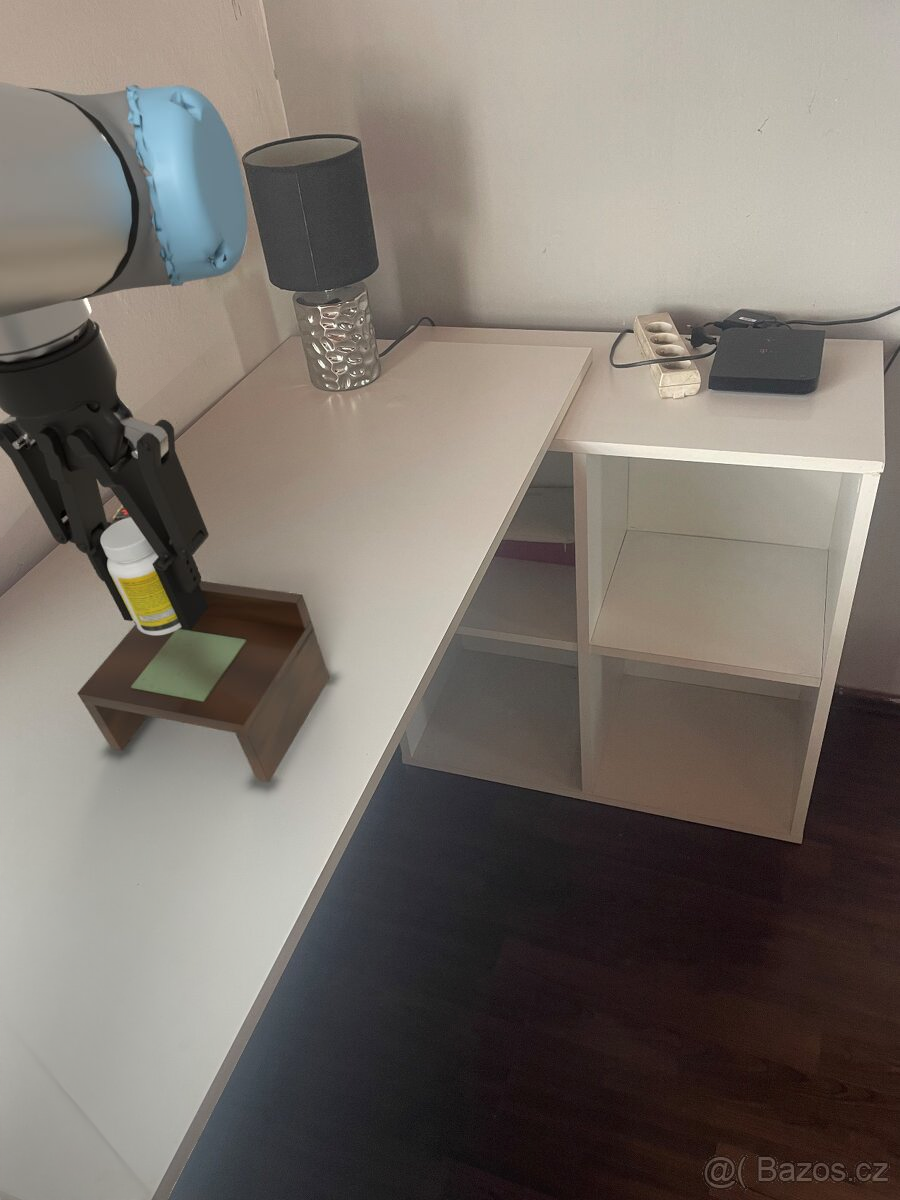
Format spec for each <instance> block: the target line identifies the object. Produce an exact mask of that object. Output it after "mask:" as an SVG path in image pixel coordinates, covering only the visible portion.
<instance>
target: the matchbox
mask: <svg viewBox="0 0 900 1200" xmlns="http://www.w3.org/2000/svg"><path fill="white" fill-rule="evenodd" d="M116 511H117V512H116V513H115V514H114V515H112V522H114V521H115V520H116V518H117V519H120V518H123V519H124V518H129V517H130V515H129V514H128V512H127V511H126V510H125V508H124V507H123V505H122V504H121V505H120V508H116ZM112 522H111V523H112Z"/></svg>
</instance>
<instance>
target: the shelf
mask: <svg viewBox="0 0 900 1200" xmlns="http://www.w3.org/2000/svg"><path fill="white" fill-rule="evenodd" d="M199 585H200V588H201V590H202V592H203V595H204V597H205V599H206V602H207V604H208V606H209V608H208V609H207V610H206V611H205V613H204V614H203V615H202V617H201V618H200V619H199V620H198V622H197V623H196V624H195V626H194V627H193V628H192V629H191V630H185V629H182V627H181V628H179V629H178V630H176V631H174V632H171V633H168V634H165V635H148V634H145V633H143V632H141V631H140V630H139V629H138V628H137V627H136V625H135V624H134V625H133V626H132V628H131V629H130V630H129V631H128V632H127V634H125V636H124V637H123V638H122V640H121V641H120V642H119V643H118V644H117V645H116V647H114V648H113V650H112V651H111V652H110V653H109V655H108V656H107V657H106V658H105V660H104V661H103V662H102V663H101V664H100V665H99V666H98V667H97V669H96V670H95V671H94V673H93V674H92V675H91V676H90V677H89V678H88V680H86V682H85V683H84V684H83V685H82V687H81V688H80V689H79V690H78V691H77V693H76V694H77V695H78V697H79V699H80V700H81V702H82V704H83V705H84V706H85V708H86V710H87V711H88V713H89V714H90V717H91V718H92V719H93V721H94V723H95V724H96V726H97V728H98V729H99V731H100V732H101V734H102V736H103V737H104V739H105V741H106V742H107V744H108V746H109V747H110V748H111V749H114V750H118V751H123V750H124V748H125V747H126V745H127V744H129V742H130V740H131V739H132V738H133V737H134V736H135V734H136V732H137V731H138V730H139V728H140V727H141V726H142V724H143V723H144V722H145V720H146V719H147V718H148V717H154V718H158V719H163V720H167V721H168V720H169V721H173V722H179V723H183V724H188V725H193V726H199V727H203V728H209V729H215V730H218V731H225V732H229V733H232V734H233V733H234V734H235V736H236V738H237V740H238V742H239V744H240V747H241V749H242V751H243V753H244V756H245V757H246V760H247V762H248V764H249V766H250V769H251V771H252V773H253V776H254V777H255V779H256V780H257V781H261V782H265V783H270V781H271V779H272V778H273V776H274V774H275V772H276V771H277V769H278V767H279V765H280V764H281V762H282V761H283V758H284V757H285V755H286V754H287V752H288V750H289V748H290V747H291V745H292V744H293V741H294V740H295V738H296V737H297V735H298V733H299V731H300V729H301V728H302V726H303V724H304V722H305V721H306V720H307V717H308V716H309V714H310V712H311V711H312V709H313V707H314V705H315V704H316V702H317V701H318V698H319V697H320V695H321V693H322V692H323V690H324V689H325V687H326V685H327V683H328V682H329V680H330V673H329V671H328V669H327V666H326V662H325V659H324V656H323V652H322V650H321V646H320V643H319V641H318V638H317V634H316V632H315V628H314V625H313V622H312V619H311V616H310V612H309V609H308V606H307V604H306V601H305V597H304V594H303V593H298V592H289V591H281V590H275V589H266V588H259V587H251V586H245V585H244V586H243V585H237V584H230V583H229V584H228V583H221V582H213V581H207V580H201V582H200V583H199Z"/></svg>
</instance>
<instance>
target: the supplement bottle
mask: <svg viewBox="0 0 900 1200" xmlns="http://www.w3.org/2000/svg"><path fill="white" fill-rule="evenodd" d="M100 542H101V545H102V547H103V549H104V552H105V554H106V556H107V557H108V561H107V567H108V571H109V573H110V575H111V577H112V579H113V581H114V583H115V585H116V587H117V589H118V591H119V593H120V595H121V597H122V599H123V601H124V603H125V605H126V607H127V609H128V611H129V613H130V615H131V617H132V619H133V621H132V622H133V623H134V626H135V625H136V627H137V628H138V629H139V630H140V631H141V632H143V633H145V634H148V635H165V634H168V633H171V632H174V631H176V630H178V629H179V628H181V625H180V622H179V620H178V618H177V616H176V614H175V612H174V610H173V607H172V605H171V603H170V601H169V599H168V597H167V595H166V592H165V590H164V588H163V586H162V584H161V582H160V579H159V577H158V575H157V573H156V571H155V569H154V567H153V563H154V562H155V560H156V559H157V558H158V556H157V554H156V553H155V551H154V550H153V548H152V547H151V546H150V544H149V543H148V541H147V540H146V538H145V537H144V535H143V534H142V533H141V531H140V530H139V528H138V527H137V525H136V524H135V523H134V521H133V520H132V518H131V517H124V518H123V519H121V520H118V521H116V522H114V523H112V524H111V525H110V526H109V527H108V528H107V529H106V530H105V531H104V532H103V534H102V535H101V539H100Z"/></svg>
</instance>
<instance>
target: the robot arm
mask: <svg viewBox="0 0 900 1200" xmlns="http://www.w3.org/2000/svg"><path fill="white" fill-rule="evenodd" d="M224 121H225V120H224V119H223V117H222V116H221V114H220V113H219V111H218V109H216V107H215V106H214V104H213V103H212V102H211V101H210V100H209V98H207V96H205V95H204V94H203V93H201V92H200V91H199V90H196V89H195V88H193V87H190V86H186V85H169V86H168V85H167V86H159V87H147V88H146V87H145V88H141V87H140V86H138V85H137V84H133V85H126V86H125V90H118V91H113V92H108V93H96V94H74V93H69V92H64V91H58V90H53V89H47V88H38V87H37V88H33V87H25V86H21V85H16V84H12V83H8V82H7V83H6V82H2V81H0V409H1V410H2V411H3V412H4V413H5V414H7V415H9V416H7V417H6V418H5V419H4V420H2V421H1V422H0V448H1V449H2V450H3V452H4V453H5V454H6V455H7V456H8V458H10V460H11V462H12V464H13V465H14V467H15V469H16V471H17V472H18V475H19V476H20V479H21V480H22V482H23V484H24V486H25V487H26V490H27V491H28V493H29V495H30V497H31V498H32V501H33V502H34V504H35V506H36V508H37V510H38V511H39V513H40V515H41V517H42V519H43V521H44V523H45V525H46V526H47V529H48V530H49V532H50V534H51V536H52V537H53V539H54V540H55V541H56V542H57V543H59V544H61V545H66V544H67V543H68V542H69V543H73V544H75V546H76V548H77V549H78V550H79V551H80V552H81V553H84V554H85V555H86V556H87V558H88V560H89V562H90V564H91V566H92V567H93V569H94V571H95V574H96V575H97V577H98V578H99V579H100V580H101V581H102V582H104V583H105V585H106V587H107V589H108V591H109V593H110V595H111V597H112V599H113V601H114V603H115V604H116V607H117V609H118V611H119V613H120V615H121V616H122V618H123V620H124V621H128V622H134V621H133V619H132V617H131V615H130V613H129V611H128V609H127V607H126V605H125V603H124V601H123V599H122V597H121V595H120V593H119V591H118V589H117V587H116V585H115V583H114V581H113V579H112V577H111V575H110V573H109V571H108V567H107V561H108V557H107V556H106V554H105V552H104V549H103V547H102V545H101V542H100V539H101V535H102V534H103V532H104V531H105V530H106V529H107V528H108V527H110V526H111V525H112V524H113V523H112V522H110V521H108V519H107V516H106V512H105V508H104V503H103V500H102V499H103V498H102V496H101V492H100V487H99V484H100V486H101V487H102V488H108V489H110V490H111V492H112V493H113V495H114V496H115V497H116V498H117V500H118V502H119V503H120V504H121V505H123V507H124V508H125V510H126V511H127V512H128V514H129V515H130V517H131V518H132V520H133V521H134V523H135V524H136V525H137V527H138V528H139V530H140V531H141V533H142V534H143V535H144V537H145V538H146V540H147V541H148V543H149V544H150V546H151V547H152V548H153V550H154V551H155V553H156V554H157V556H158V558H157V559H156V560H155V562H154V563H153V567H154V569H155V571H156V573H157V575H158V577H159V579H160V582H161V584H162V586H163V588H164V590H165V592H166V595H167V597H168V599H169V601H170V603H171V605H172V607H173V610H174V612H175V614H176V616H177V618H178V620H179V622H180V625H181V627H182V629H185V630H191V629H192V628H193V627H194V626H195V624H196V623H197V622H198V620H199V619H200V618H201V617H202V615H203V614H204V613H205V611H206V610H207V609H208V608H209V606H208V604H207V602H206V599H205V597H204V595H203V592H202V590H201V588H200V585H199V583H200V582H201V581H202V575H201V573H200V571H199V568H198V566H197V563H196V561H195V558H194V554H195V553H196V552H197V551H198V550H199V548H200V547H201V546H202V545H203V544H204V542H205V541H206V540H207V539H209V531H208V529H207V526H206V524H205V522H204V519H203V516H202V513H201V511H200V509H199V506H198V504H197V501H196V500H195V496H194V494H193V492H192V490H191V487H190V484H189V482H188V480H187V479H188V478H187V477H186V474H185V472H184V470H183V469H184V468H183V467H182V465H181V461H180V459H179V456H178V454H177V452H176V440H175V439H176V438H175V428H174V426H173V425H172V424H171V422H170V421H168V420H166V419H159V420H158V421H157V422H156V423H154V424H150V423H147V422H145V421H142V420H140V419H137V418H134V415H133V412H132V411H131V410H130V408H129V407H128V406H127V404H125V402H124V401H123V400H122V398H121V397H120V396H119V394H118V391H117V379H118V377H117V376H118V368H117V366H116V365H117V364H116V363H115V360H114V358H113V356H112V353H111V351H110V349H109V347H108V344H107V342H106V339H105V337H104V334H103V331H102V330H101V327H100V325H99V324H98V323H97V322H96V321H95V320H93V319H91V317H90V316H91V313H92V308H91V306H90V305H91V304H90V303H89V301H88V299H90V298H94V297H98V296H102V295H107V294H111V293H114V292H115V293H116V292H119V291H124V290H125V291H126V290H132V289H138V288H149V287H158V286H169V285H171V287H180V286H183V285H184V284H185V283H186V282H193V281H194V282H195V281H199V280H206V279H211V278H219V277H222V276H225V275H227V274H229V273H230V272H232V271H233V270H234V269H236V267H237V266H238V265H239V263H240V261H241V259H242V258H243V255H244V252H245V249H246V245H247V239H248V224H249V223H248V222H249V221H248V203H247V195H246V189H245V183H244V178H243V173H242V169H241V165H240V161H239V157H238V154H237V150H236V147H235V144H234V142H233V140H232V137H231V134H230V132H229V129H228V127H227V126H226V123H225V122H224ZM66 517H67V519H65V520H64V521H63V519H64V518H66Z"/></svg>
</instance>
